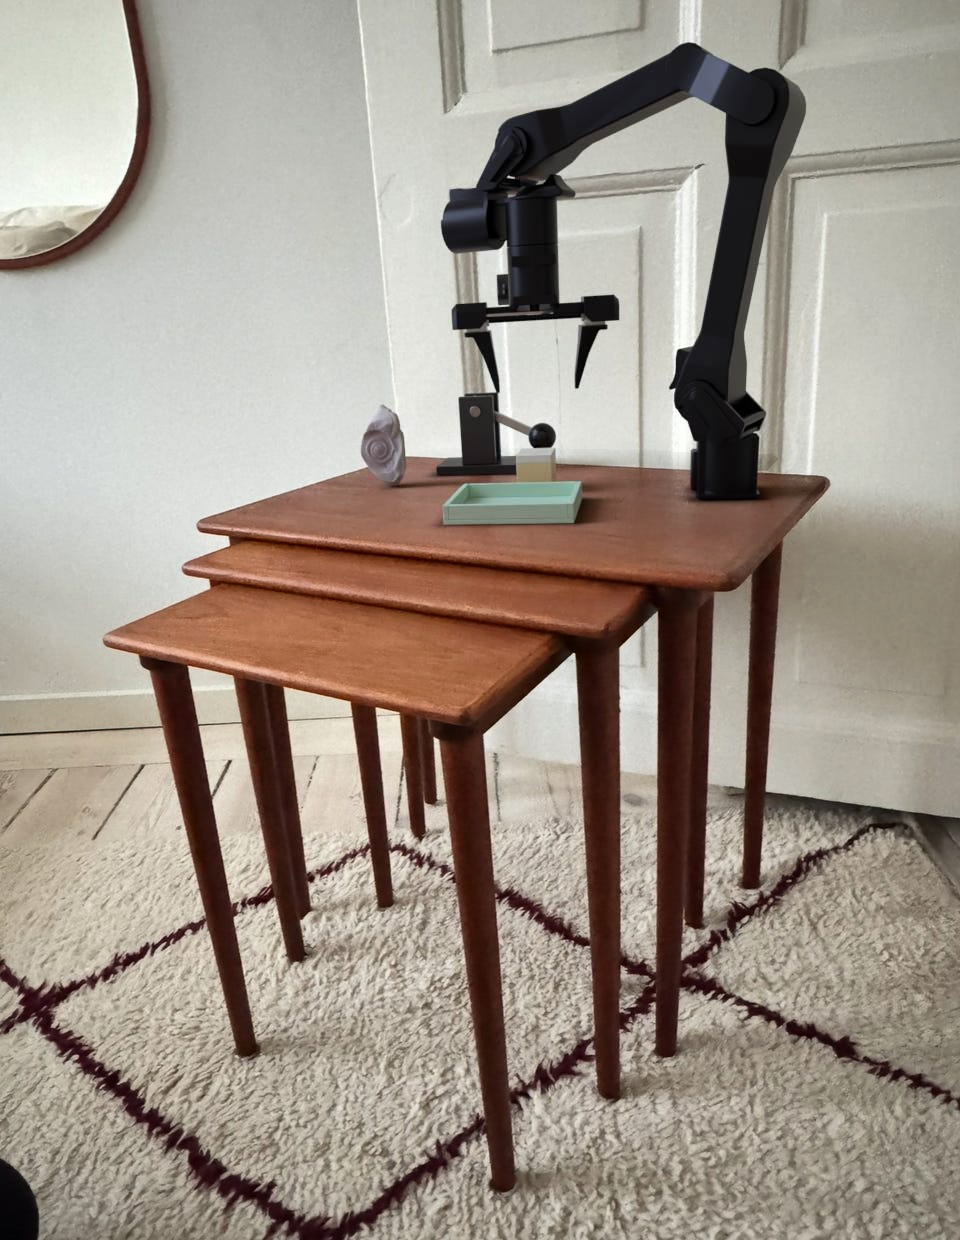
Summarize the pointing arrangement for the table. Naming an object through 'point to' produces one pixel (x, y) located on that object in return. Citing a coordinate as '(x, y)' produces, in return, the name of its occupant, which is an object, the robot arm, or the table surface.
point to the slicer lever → (530, 431)
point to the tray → (514, 503)
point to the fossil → (384, 447)
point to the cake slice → (536, 465)
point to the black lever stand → (479, 439)
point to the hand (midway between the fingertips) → (537, 390)
